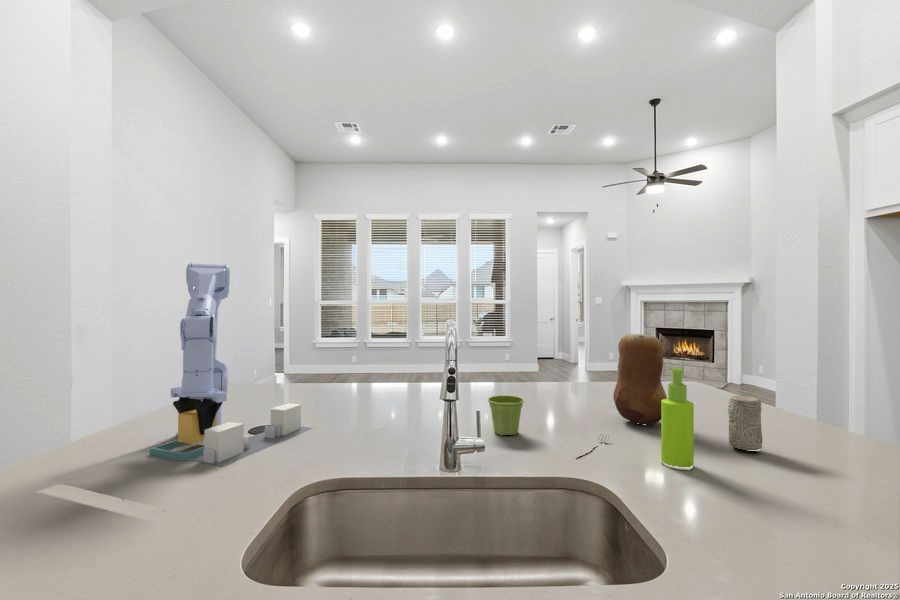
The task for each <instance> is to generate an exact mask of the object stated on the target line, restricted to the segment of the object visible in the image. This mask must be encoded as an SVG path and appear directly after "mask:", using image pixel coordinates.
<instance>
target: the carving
mask: <svg viewBox="0 0 900 600" xmlns="http://www.w3.org/2000/svg"><path fill="white" fill-rule="evenodd" d="M727 410H728V411H727V415H728V440H729V441H728V443H729V445H731V446H733V447H735V448H738V449H743V450H758V449H763V440H764V439H763V431H762V430H763V429H762V400H761V399H759V398H757V397H753V396H746V395H732V396H731V397H730V398H729V400H728V407H727ZM731 446H730V447H731ZM733 447H732V448H733ZM735 448H734V449H735ZM738 449H737V450H738ZM743 450H742V451H743Z"/></svg>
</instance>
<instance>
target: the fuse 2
mask: <svg viewBox="0 0 900 600" xmlns="http://www.w3.org/2000/svg"><path fill="white" fill-rule="evenodd" d="M271 424H276V425H280V435H286V434H289V433H291V432H294V431H296V430H299V429H301V426H302V405H301V404H298V403H286V404H282V405H278V406H275V407H272V408H270V425H271Z"/></svg>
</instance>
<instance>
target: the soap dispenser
mask: <svg viewBox="0 0 900 600" xmlns="http://www.w3.org/2000/svg"><path fill="white" fill-rule="evenodd" d="M669 371H671V372H672V382H670V383H668V384H667V399H663V400H661V420H660V421H661V422H660V423H661V425H660V426H661V427H660V428H661V429H660V430H661V431H660V435H661V436H660V438H661V439H660V440H661V442H660V443H661V444H660V446H661V448H660V451H661V452H660V455H661V456H660V458H661V459H660V461H661V460H662V462H664V463H666V464H668V465H672V466H678V467H690V466H692V465H693V464H695V463H694V456H695V455H694V454H695V453H694V448H695V447H694V444H695V443H694V429H695V427H694V425H695V424H694V421H695V420H694V418H695V417H694V416H695V415H694V411H695V410H694V409H695V408H694V405H695V404H694V402H692V401H690V400H687V396H688V395H687V390H688V389H687V385H686V384H684V383H683V374H684V372H685V371H684V369H683V368H682V367H679V366H669ZM693 466H694V465H693Z"/></svg>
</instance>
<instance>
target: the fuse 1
mask: <svg viewBox="0 0 900 600" xmlns="http://www.w3.org/2000/svg"><path fill="white" fill-rule="evenodd" d="M244 425H245V424H244V423H240V422H239V423H238V422H233V421H227V422H225V423H221V425H218V426H215V427H212V428H209V429H205V433H204V440H203V443H204V445H203V447H204V449H205V448H208V449H214V450H215V462H221V461H223V460H226V459H228V458H231V457H233V456H235V455H238V454H240V453H243V437H244V429H245V428H244V427H245V426H244Z"/></svg>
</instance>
